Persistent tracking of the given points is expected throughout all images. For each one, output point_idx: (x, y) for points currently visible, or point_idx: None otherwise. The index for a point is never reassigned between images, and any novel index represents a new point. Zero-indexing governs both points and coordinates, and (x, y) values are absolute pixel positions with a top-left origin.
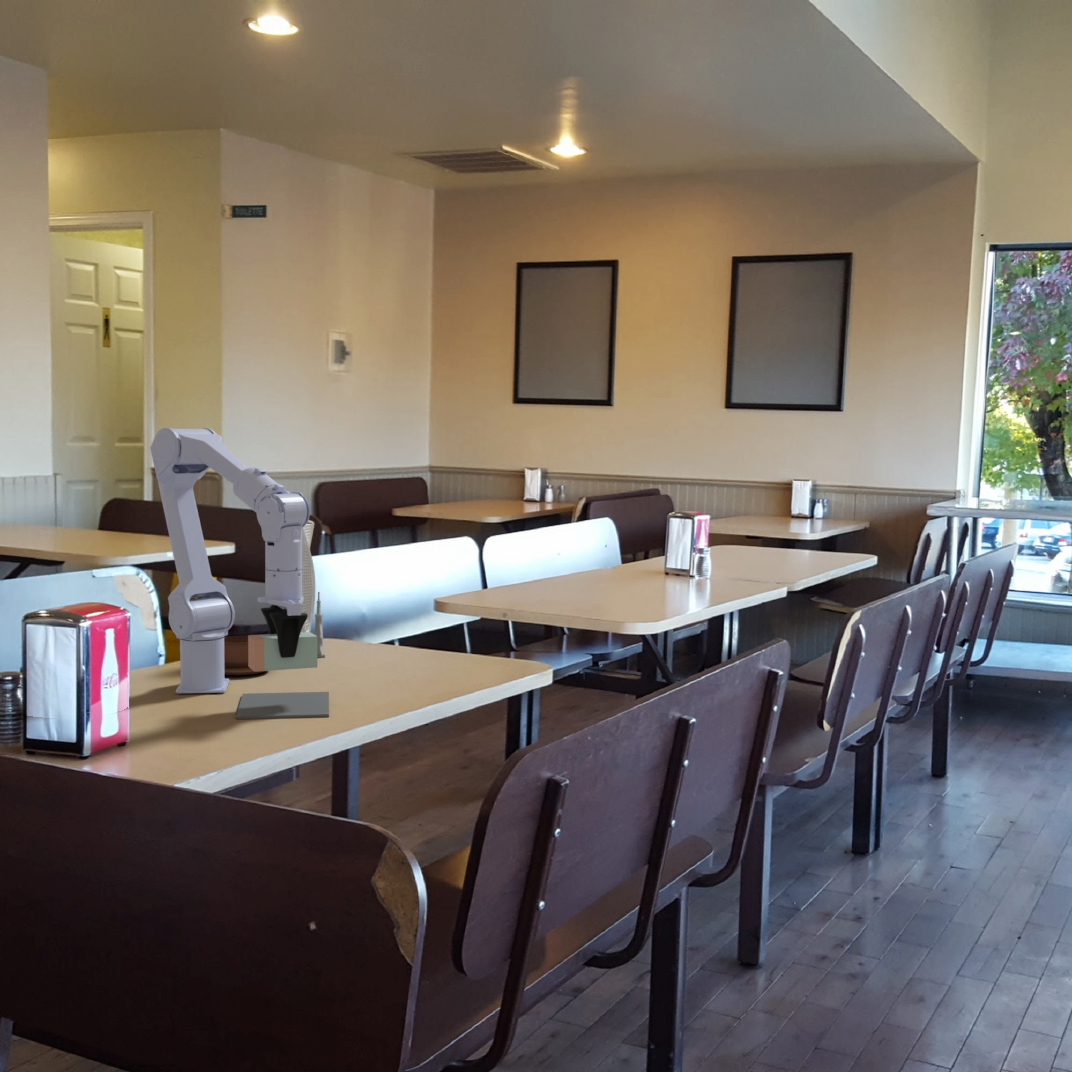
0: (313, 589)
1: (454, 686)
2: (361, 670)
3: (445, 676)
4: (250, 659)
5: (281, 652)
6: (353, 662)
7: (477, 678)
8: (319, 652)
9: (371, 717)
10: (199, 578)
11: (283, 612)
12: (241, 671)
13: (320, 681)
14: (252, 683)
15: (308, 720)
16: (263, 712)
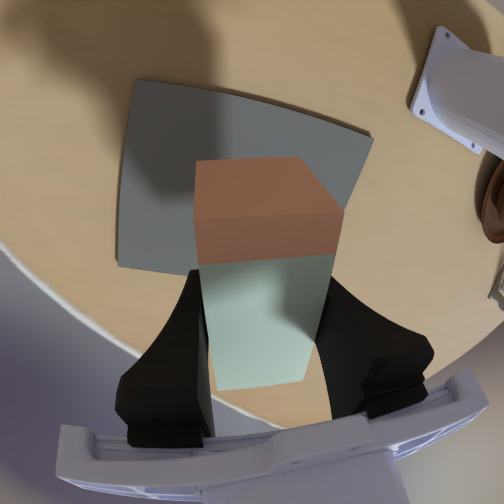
0: None
1: (272, 397)
2: (414, 329)
3: (325, 392)
4: (268, 169)
5: (187, 281)
6: (451, 322)
7: (298, 408)
8: (494, 296)
9: (111, 314)
10: None
11: (174, 431)
12: (489, 184)
13: (397, 283)
14: (449, 185)
15: (96, 227)
16: (159, 146)
